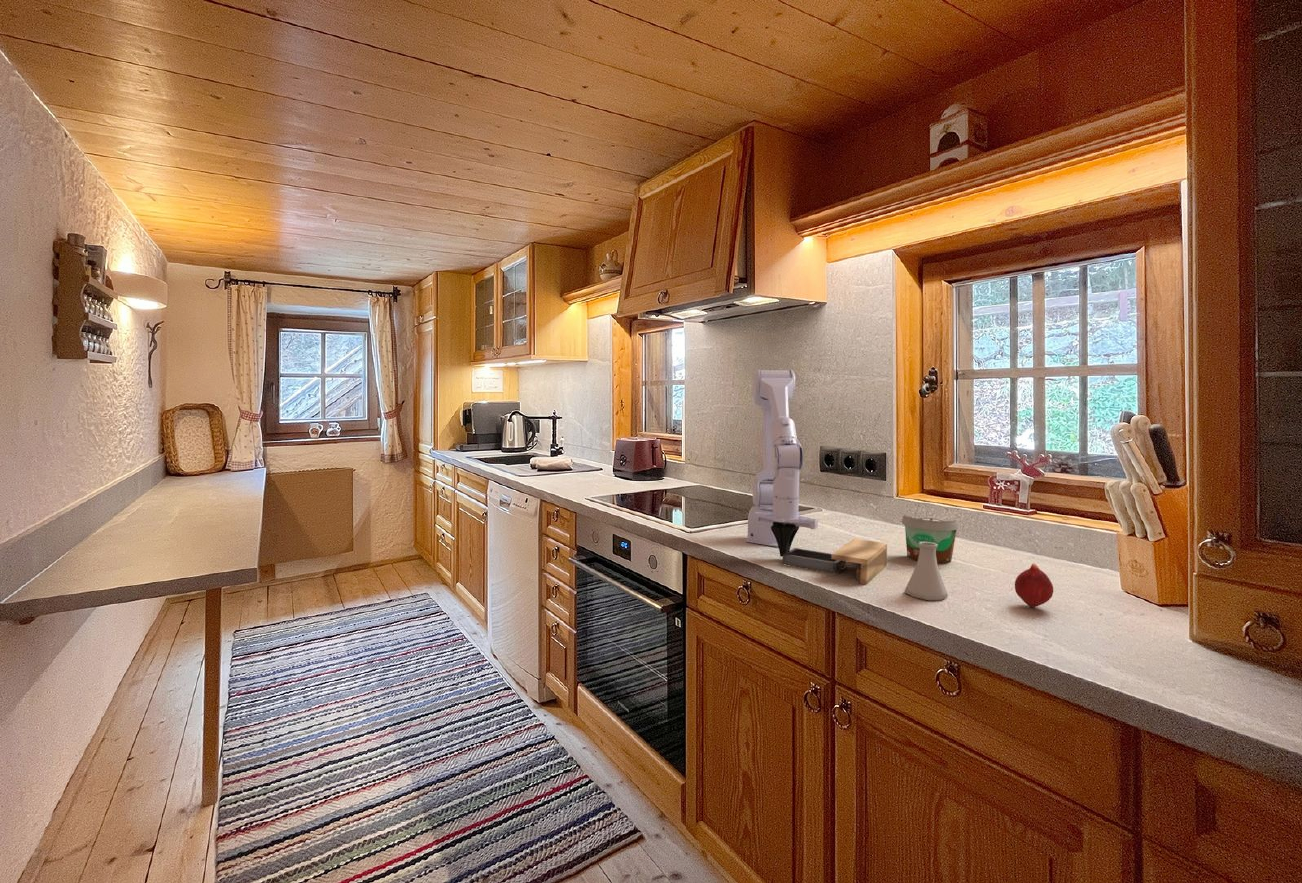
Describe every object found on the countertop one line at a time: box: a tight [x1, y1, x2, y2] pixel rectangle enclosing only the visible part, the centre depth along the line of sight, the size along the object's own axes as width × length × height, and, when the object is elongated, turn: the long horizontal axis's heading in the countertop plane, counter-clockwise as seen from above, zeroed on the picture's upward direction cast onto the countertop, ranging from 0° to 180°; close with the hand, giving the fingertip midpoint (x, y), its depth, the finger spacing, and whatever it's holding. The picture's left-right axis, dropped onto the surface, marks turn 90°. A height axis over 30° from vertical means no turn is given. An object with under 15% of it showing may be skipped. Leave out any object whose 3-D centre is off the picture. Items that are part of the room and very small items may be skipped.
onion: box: [1014, 562, 1054, 608], centre depth 107 cm, size 6×6×8 cm
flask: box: [903, 542, 949, 601], centre depth 113 cm, size 7×7×10 cm
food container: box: [901, 513, 961, 565], centre depth 136 cm, size 12×6×10 cm, turn 62°
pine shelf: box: [831, 538, 888, 585], centre depth 128 cm, size 7×16×5 cm, turn 145°
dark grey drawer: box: [782, 547, 847, 575], centre depth 133 cm, size 12×7×2 cm, turn 55°
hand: (784, 555), depth 137 cm, fingers closed
